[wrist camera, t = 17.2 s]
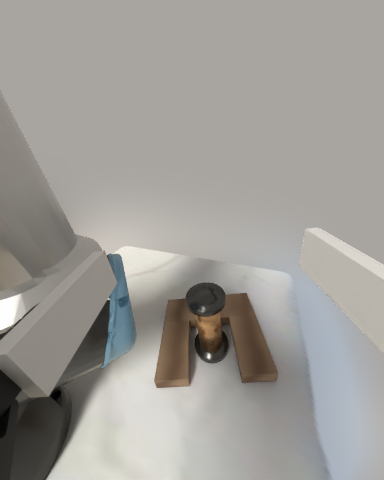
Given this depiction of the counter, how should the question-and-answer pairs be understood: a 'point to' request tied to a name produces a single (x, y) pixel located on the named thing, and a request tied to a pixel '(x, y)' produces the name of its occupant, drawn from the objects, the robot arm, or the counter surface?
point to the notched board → (243, 333)
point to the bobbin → (208, 321)
